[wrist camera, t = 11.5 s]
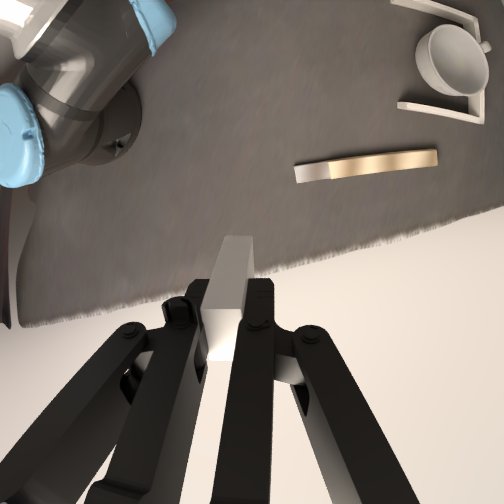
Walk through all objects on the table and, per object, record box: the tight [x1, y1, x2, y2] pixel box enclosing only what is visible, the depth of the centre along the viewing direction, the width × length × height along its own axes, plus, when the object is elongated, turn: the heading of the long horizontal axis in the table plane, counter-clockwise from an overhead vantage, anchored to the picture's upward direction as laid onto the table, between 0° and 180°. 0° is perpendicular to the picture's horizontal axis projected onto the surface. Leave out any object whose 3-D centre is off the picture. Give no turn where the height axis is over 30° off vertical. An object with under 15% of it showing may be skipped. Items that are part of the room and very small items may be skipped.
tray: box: [390, 0, 484, 125], centre depth 31 cm, size 15×19×4 cm
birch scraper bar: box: [294, 149, 438, 183], centre depth 41 cm, size 23×2×2 cm, turn 103°
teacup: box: [415, 24, 491, 96], centre depth 29 cm, size 14×11×8 cm
